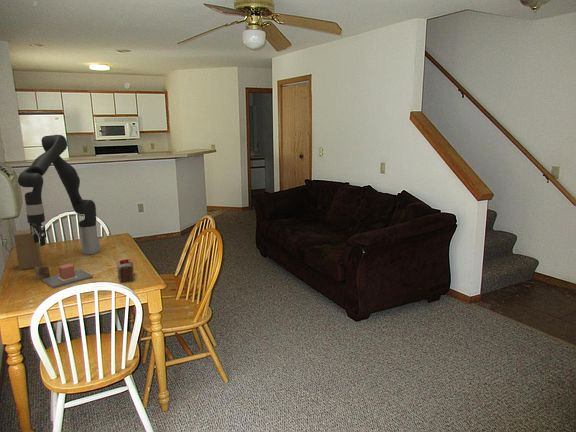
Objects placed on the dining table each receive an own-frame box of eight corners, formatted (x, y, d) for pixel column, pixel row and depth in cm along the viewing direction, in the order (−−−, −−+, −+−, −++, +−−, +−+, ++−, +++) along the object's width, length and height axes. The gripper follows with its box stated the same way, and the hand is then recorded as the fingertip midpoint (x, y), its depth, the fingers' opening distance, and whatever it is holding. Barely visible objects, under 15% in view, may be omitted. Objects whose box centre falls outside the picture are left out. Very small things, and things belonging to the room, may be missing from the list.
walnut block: (46, 275, 216) (45, 264, 215) (49, 277, 213) (48, 266, 212) (35, 277, 213) (34, 266, 212) (39, 280, 210) (37, 269, 208)
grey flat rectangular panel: (80, 271, 222) (80, 269, 222) (93, 277, 212) (92, 275, 212) (42, 280, 208) (41, 278, 208) (53, 288, 198) (52, 286, 198)
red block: (71, 274, 214) (69, 263, 213) (75, 277, 210) (74, 265, 209) (59, 277, 210) (58, 266, 209) (63, 279, 206) (62, 268, 205)
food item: (116, 275, 216) (115, 257, 214) (132, 272, 220) (131, 254, 218) (119, 283, 204) (117, 264, 202) (136, 280, 208) (134, 262, 206)
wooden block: (19, 270, 224) (13, 234, 220) (21, 265, 233) (16, 230, 229) (40, 267, 229) (35, 232, 224) (41, 262, 237) (36, 228, 233)
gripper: (49, 213, 204) (53, 245, 207) (38, 209, 213) (42, 240, 216) (32, 216, 198) (36, 248, 202) (21, 212, 207) (26, 243, 211)
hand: (39, 244), depth 209 cm, fingers open, 8 cm apart
